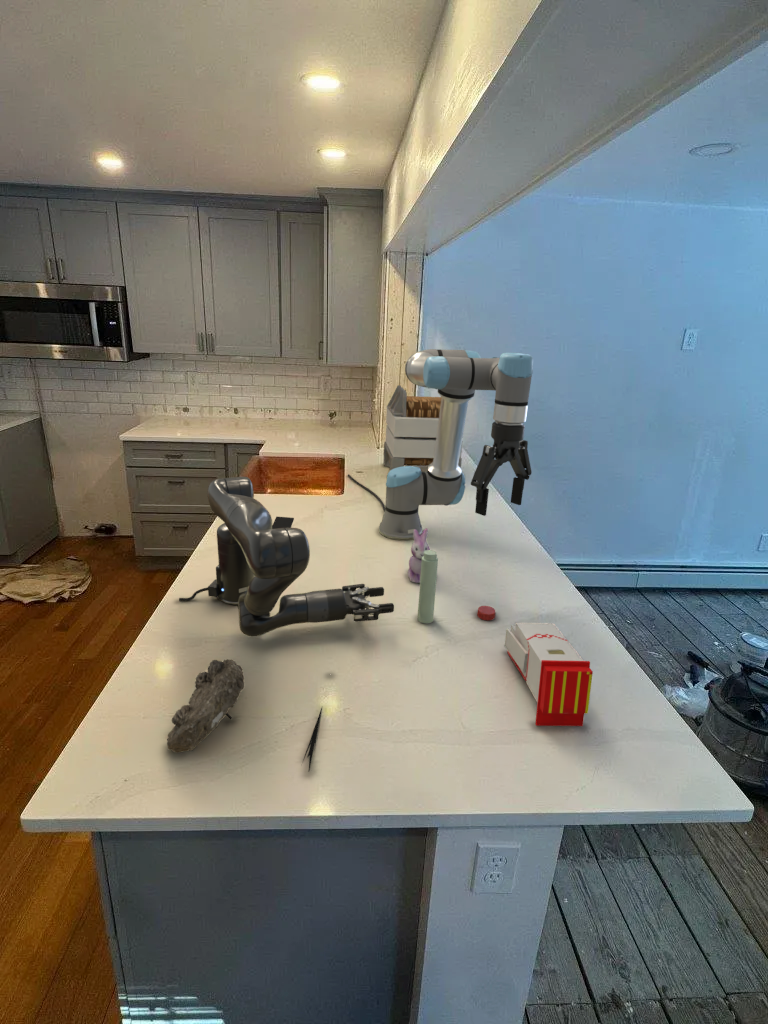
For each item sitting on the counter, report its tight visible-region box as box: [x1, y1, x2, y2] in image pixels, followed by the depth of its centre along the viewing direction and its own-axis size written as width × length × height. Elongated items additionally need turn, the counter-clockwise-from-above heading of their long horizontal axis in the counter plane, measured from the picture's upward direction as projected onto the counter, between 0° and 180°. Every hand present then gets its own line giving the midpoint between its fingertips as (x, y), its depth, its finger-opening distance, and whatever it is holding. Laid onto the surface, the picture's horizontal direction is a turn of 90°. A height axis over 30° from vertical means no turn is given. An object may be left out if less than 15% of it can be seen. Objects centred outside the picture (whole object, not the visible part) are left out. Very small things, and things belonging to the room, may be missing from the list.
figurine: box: [407, 527, 431, 584], centre depth 166 cm, size 9×10×15 cm
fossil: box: [166, 658, 245, 754], centre depth 106 cm, size 22×10×15 cm
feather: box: [301, 673, 332, 771], centre depth 108 cm, size 2×28×2 cm
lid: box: [476, 605, 497, 621], centre depth 148 cm, size 5×5×2 cm
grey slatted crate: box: [383, 384, 465, 471], centre depth 268 cm, size 34×33×41 cm
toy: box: [503, 622, 594, 727], centre depth 121 cm, size 12×13×30 cm
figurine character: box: [272, 515, 295, 529], centre depth 185 cm, size 7×8×15 cm
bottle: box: [416, 549, 439, 624], centre depth 142 cm, size 4×4×19 cm
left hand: (388, 599), depth 141 cm, fingers open, 8 cm apart
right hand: (498, 508), depth 139 cm, fingers open, 13 cm apart
